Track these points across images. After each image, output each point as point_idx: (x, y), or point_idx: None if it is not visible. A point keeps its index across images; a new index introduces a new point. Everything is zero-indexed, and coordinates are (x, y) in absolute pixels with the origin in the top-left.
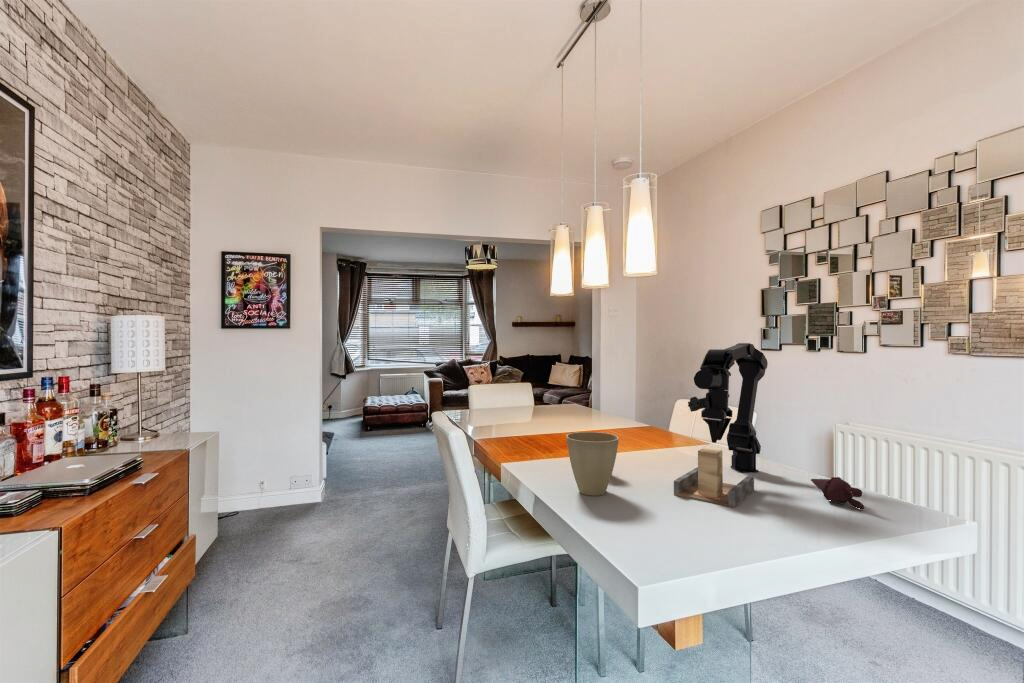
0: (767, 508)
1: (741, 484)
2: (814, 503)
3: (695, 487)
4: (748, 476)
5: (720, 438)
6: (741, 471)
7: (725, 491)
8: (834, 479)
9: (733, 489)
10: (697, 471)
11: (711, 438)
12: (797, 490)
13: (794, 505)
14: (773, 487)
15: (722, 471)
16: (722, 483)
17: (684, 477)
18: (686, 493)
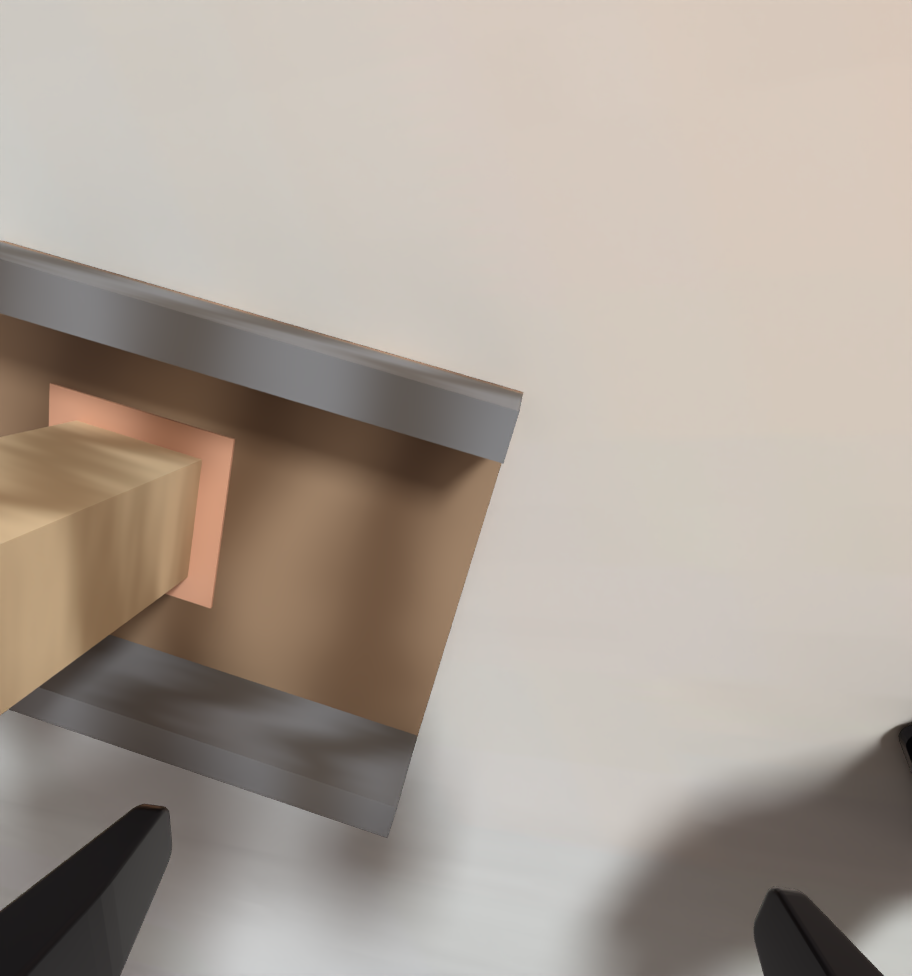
0: (102, 764)
1: (112, 732)
2: (306, 961)
3: (225, 392)
4: (358, 803)
5: (765, 967)
6: (902, 746)
7: (240, 594)
8: None
9: None
10: (349, 416)
11: (57, 869)
12: (515, 955)
13: (224, 880)
14: (527, 860)
15: (62, 668)
16: (137, 610)
17: (32, 311)
18: (43, 336)
